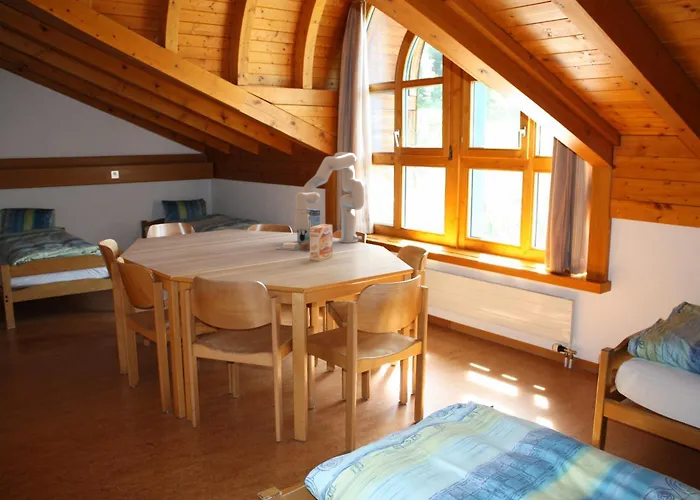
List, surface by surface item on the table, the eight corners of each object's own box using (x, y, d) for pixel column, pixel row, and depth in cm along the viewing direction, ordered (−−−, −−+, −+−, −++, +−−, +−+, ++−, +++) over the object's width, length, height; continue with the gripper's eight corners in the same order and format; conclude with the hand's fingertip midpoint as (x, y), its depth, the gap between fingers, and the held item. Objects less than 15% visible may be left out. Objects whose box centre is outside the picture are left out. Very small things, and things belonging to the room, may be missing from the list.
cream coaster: (286, 242, 438) (286, 245, 438) (282, 244, 430) (282, 248, 431) (298, 242, 436) (298, 246, 436) (294, 244, 428) (294, 248, 429)
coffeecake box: (319, 261, 390) (319, 227, 387) (309, 260, 394) (309, 226, 390) (333, 257, 403) (332, 224, 400) (322, 255, 407) (322, 223, 403)
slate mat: (306, 246, 439) (306, 245, 439) (298, 250, 424) (298, 250, 424) (284, 245, 443) (284, 244, 443) (275, 249, 428) (275, 248, 428)
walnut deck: (320, 247, 436) (320, 240, 435) (313, 250, 422) (313, 244, 422) (306, 246, 438) (306, 240, 437) (299, 250, 425) (299, 243, 424)
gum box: (297, 241, 457) (296, 207, 453) (303, 240, 460) (302, 207, 456) (314, 245, 442) (313, 210, 438) (320, 244, 445) (320, 209, 441)
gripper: (315, 211, 429) (315, 240, 432) (292, 210, 433) (293, 239, 436) (311, 213, 422) (311, 242, 425) (288, 212, 426) (289, 241, 429)
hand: (302, 240), depth 431 cm, fingers closed
